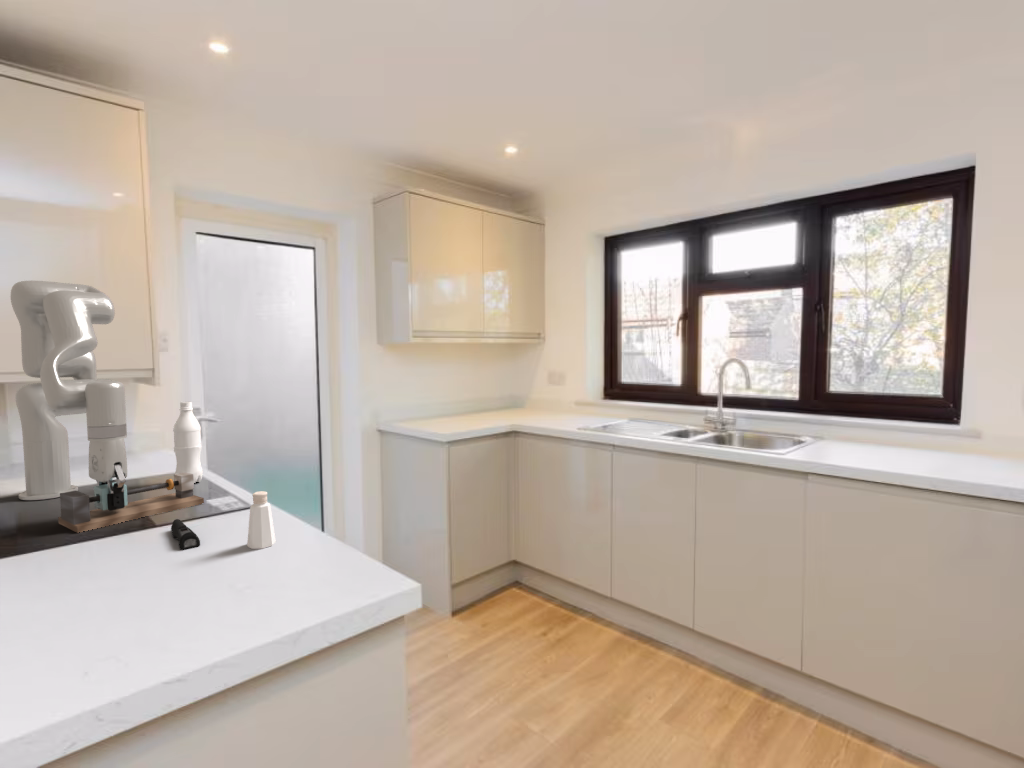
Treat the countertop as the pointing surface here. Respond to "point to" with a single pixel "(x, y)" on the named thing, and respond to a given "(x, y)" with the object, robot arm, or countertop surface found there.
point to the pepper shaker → (260, 523)
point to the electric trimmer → (184, 535)
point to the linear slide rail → (83, 519)
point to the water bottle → (188, 442)
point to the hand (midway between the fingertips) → (111, 506)
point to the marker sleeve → (102, 492)
